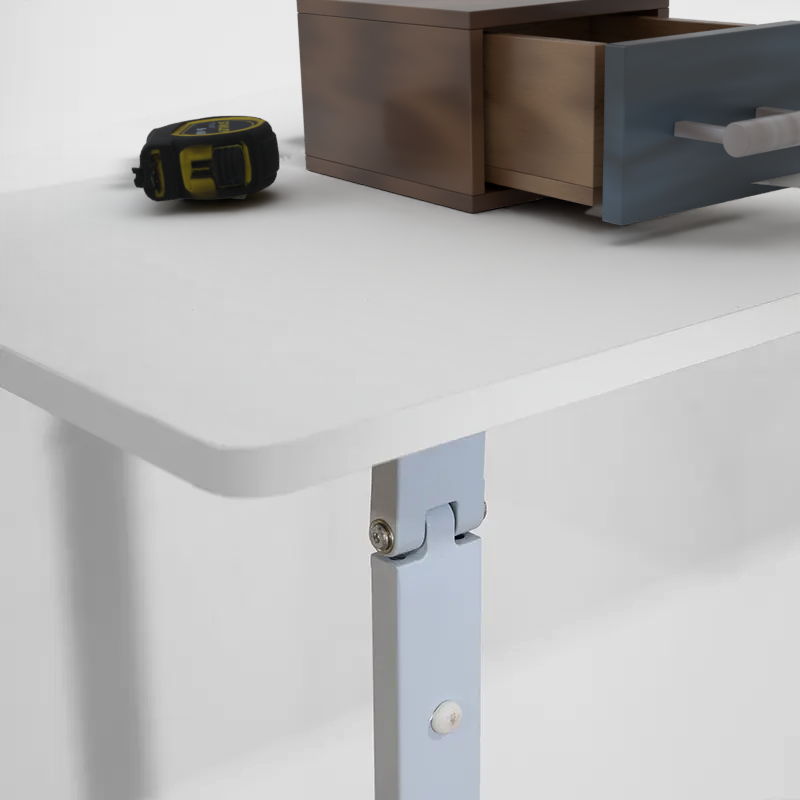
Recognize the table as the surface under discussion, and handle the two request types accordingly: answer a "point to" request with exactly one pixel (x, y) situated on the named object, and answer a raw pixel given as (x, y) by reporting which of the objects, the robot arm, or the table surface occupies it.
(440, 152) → the cabinet
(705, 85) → the drawer
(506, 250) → the table surface
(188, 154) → the tape measure
